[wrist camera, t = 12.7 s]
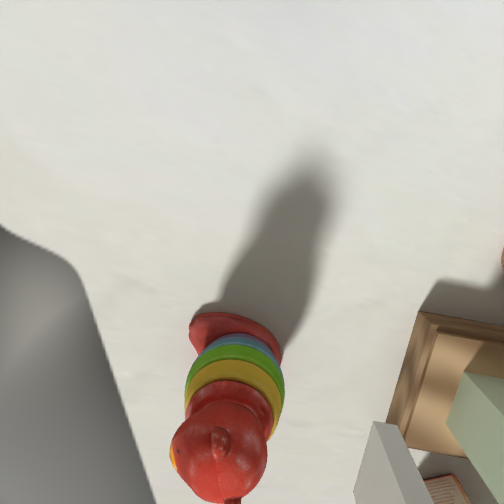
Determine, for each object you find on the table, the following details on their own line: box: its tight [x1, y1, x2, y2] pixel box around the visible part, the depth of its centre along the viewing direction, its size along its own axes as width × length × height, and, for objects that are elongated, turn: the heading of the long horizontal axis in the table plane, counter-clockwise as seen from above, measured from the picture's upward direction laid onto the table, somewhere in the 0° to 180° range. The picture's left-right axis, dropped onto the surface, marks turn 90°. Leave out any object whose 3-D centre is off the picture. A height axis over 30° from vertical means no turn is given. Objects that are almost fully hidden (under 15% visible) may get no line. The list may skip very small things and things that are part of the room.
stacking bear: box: [170, 312, 285, 504], centre depth 35 cm, size 11×10×18 cm
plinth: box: [386, 311, 504, 459], centre depth 41 cm, size 14×14×4 cm
